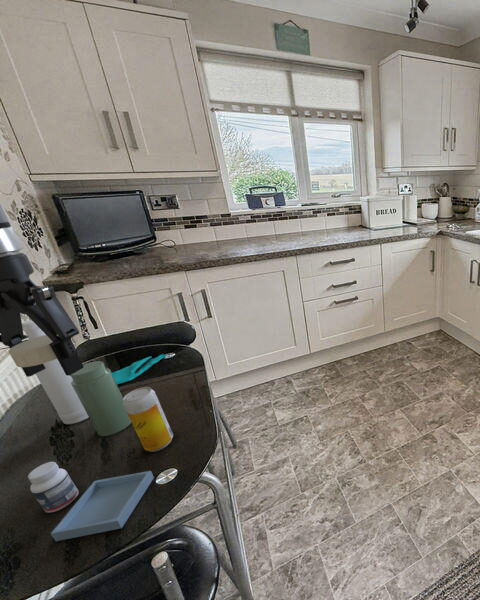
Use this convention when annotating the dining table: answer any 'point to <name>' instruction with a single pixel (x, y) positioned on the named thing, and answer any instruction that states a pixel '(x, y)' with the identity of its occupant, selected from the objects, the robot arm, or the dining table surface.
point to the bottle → (57, 384)
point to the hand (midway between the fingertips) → (55, 371)
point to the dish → (104, 506)
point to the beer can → (148, 418)
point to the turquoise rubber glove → (135, 369)
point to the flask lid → (32, 352)
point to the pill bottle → (52, 487)
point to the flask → (100, 398)
